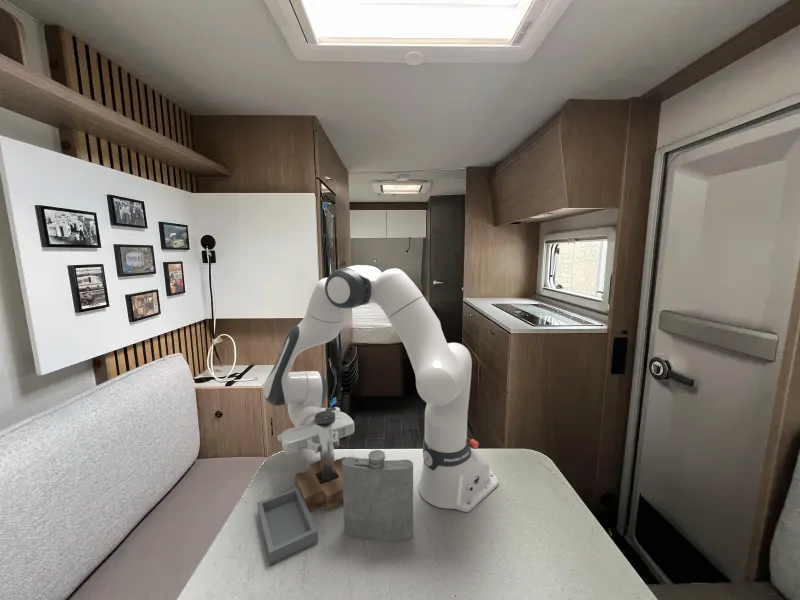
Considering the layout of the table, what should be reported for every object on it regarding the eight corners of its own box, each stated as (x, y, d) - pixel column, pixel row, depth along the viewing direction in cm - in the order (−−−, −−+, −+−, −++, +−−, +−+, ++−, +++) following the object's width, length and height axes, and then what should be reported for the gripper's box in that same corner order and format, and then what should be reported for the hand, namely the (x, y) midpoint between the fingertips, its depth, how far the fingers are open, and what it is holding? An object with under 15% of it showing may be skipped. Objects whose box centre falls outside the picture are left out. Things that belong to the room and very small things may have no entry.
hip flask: (413, 528, 76) (413, 449, 73) (412, 544, 72) (412, 461, 69) (346, 524, 77) (343, 446, 74) (341, 539, 73) (338, 457, 70)
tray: (298, 497, 86) (298, 487, 85) (317, 543, 72) (317, 531, 72) (257, 513, 80) (257, 502, 80) (270, 565, 67) (269, 553, 66)
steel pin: (334, 467, 91) (331, 408, 89) (340, 478, 87) (338, 416, 85) (315, 474, 89) (312, 414, 86) (322, 485, 84) (318, 422, 82)
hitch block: (342, 464, 99) (342, 452, 98) (364, 495, 86) (363, 481, 86) (293, 482, 91) (292, 469, 90) (308, 519, 78) (307, 504, 78)
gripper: (275, 424, 92) (286, 448, 80) (343, 405, 102) (362, 424, 91) (276, 445, 93) (288, 472, 81) (344, 424, 103) (362, 445, 92)
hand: (327, 446), depth 86 cm, fingers closed on steel pin, 4 cm apart
